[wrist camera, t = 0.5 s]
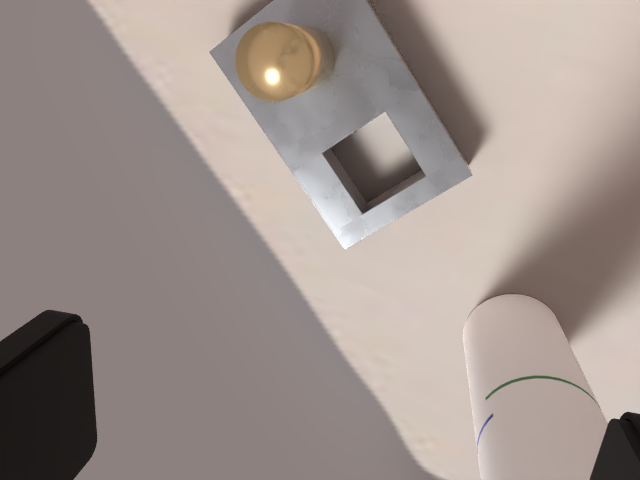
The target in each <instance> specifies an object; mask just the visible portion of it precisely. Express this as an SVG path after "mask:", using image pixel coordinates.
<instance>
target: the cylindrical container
mask: <svg viewBox="0 0 640 480" xmlns="http://www.w3.org/2000/svg"><path fill="white" fill-rule="evenodd" d="M463 344H464V351H465V359H466V367H467V374H468V382H469V390H470V398H471V406H472V413H473V421H474V429H475V437H476V445H477V452H478V460H479V468H480V476H481V480H589V479H590V476H591V473H592V470H593V467H594V464H595V461H596V458H597V455H598V452H599V449H600V446H601V443H602V441H603V438H604V435H605V432H606V429H607V426H608V423H607V421H606V419H605V417H604V415H603V413H602V411H601V409H600V407H599V404H598V402H597V400H596V398H595V396H594V394H593V392H592V390H591V388H590V386H589V384H588V382H587V380H586V378H585V376H584V374H583V372H582V369H581V367H580V365H579V363H578V361H577V359H576V357H575V355H574V353H573V351H572V349H571V347H570V345H569V343H568V341H567V339H566V336H565V334H564V332H563V330H562V328H561V326H560V324H559V322H558V320H557V318H556V316H555V314H554V313H553V312H552V311H551V310H550V309H549V307H547V306H546V305H545V304H543V303H542V302H540V301H538V300H537V299H535V298H532V297H529V296H526V295H519V294H505V295H500V296H496V297H493V298H491V299H488V300H486V301H484V302H483V303H481V304H480V305H478V306H477V307H476V308H475V309H474V310H473V311H472V312H471V314H470V315H469V317H468V318H467V320H466V323H465V325H464V330H463Z"/></svg>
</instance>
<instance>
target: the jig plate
mask: <svg viewBox="0 0 640 480" xmlns="http://www.w3.org/2000/svg"><path fill="white" fill-rule="evenodd" d="M264 22H279V23H285V24H292V25H298V26H304V27H310V28H314V29H316V30H318V31H320V32H321V33H323V34H324V35H325V36H326V37H327V38H328V40H329V41H330V43H331V45H332V47H333V51H334V58H335V60H334V67H333V70H332V73H331V75H330V76H329V78H328V79H327V80H326V82H324V83H323V84H322V85H321V86H319V87H317V88H315V89H312V90H310V91H307V92H304V93H302V94H299V95H297V96H294V97H291V98H289V99H286V100H283V101H279V102H268V101H264V100H261V99H258V98H257V97H255V96H253V95H252V94H251V93H249V92H248V91H247V90H246V88H245V87H244V86H243V84H242V83H241V81H240V79H239V77H238V74H237V71H236V65H235V56H236V50H237V47H238V44H239V42H240V40H241V38H242V37H243V35H244V34H245V33H246V32H247V31H248V30H249V29H251V28H252V27H254V26H255V25H257V24H260V23H264ZM210 54H211V55H212V57H213V58H214V60H215V61H216V63H217V64H218V65H219V67H220V68H221V70H222V71H223V73H224V74H225V76H226V77H227V79H228V80H229V82H230V83H231V84H232V86H233V87H234V89H235V90H236V92H237V93H238V95H239V96H240V98H241V99H242V101H243V102H244V103H245V105H246V106H247V108H248V109H249V111H250V112H251V114H252V115H253V117H254V118H255V120H256V121H257V122H258V124H259V125H260V127H261V128H262V130H263V131H264V133H265V134H266V136H267V137H268V139H269V140H270V141H271V143H272V144H273V146H274V147H275V149H276V150H277V152H278V153H279V155H280V156H281V158H282V159H283V160H284V162H285V163H286V165H287V166H288V168H289V169H290V171H291V172H292V174H293V175H294V177H295V178H296V179H297V181H298V182H299V184H300V185H301V187H302V188H303V190H304V191H305V193H306V194H307V195H308V197H309V198H310V200H311V201H312V203H313V204H314V206H315V207H316V209H317V210H318V212H319V213H320V214H321V216H322V217H323V219H324V220H325V222H326V223H327V225H328V226H329V228H330V229H331V231H332V232H333V233H334V235H335V236H336V238H337V239H338V241H339V242H340V244H341V245H342V247H343V248H344V250H345V249H347V248H348V247H350V246H352V245H353V244H355V243H357V242H359V241H360V240H362V239H364V238H365V237H367V236H369V235H371V234H372V233H374V232H376V231H377V230H379V229H381V228H383V227H384V226H386V225H388V224H390V223H391V222H393V221H395V220H396V219H398V218H400V217H402V216H403V215H405V214H407V213H408V212H410V211H412V210H414V209H415V208H417V207H419V206H420V205H422V204H424V203H426V202H427V201H429V200H431V199H433V198H434V197H436V196H438V195H439V194H441V193H443V192H445V191H446V190H448V189H450V188H451V187H453V186H455V185H457V184H458V183H460V182H462V181H463V180H465V179H467V178H469V177H470V176H472V173H471V170H470V167H469V165H468V163H467V162H466V160H465V158H464V157H463V155H462V153H461V152H460V150H459V149H458V147H457V145H456V144H455V142H454V140H453V139H452V137H451V135H450V134H449V132H448V131H447V129H446V127H445V126H444V124H443V122H442V121H441V119H440V117H439V116H438V114H437V113H436V111H435V109H434V108H433V106H432V104H431V103H430V101H429V99H428V98H427V96H426V95H425V93H424V91H423V90H422V88H421V86H420V85H419V83H418V81H417V80H416V78H415V77H414V75H413V73H412V72H411V70H410V68H409V67H408V65H407V63H406V62H405V60H404V59H403V57H402V55H401V54H400V52H399V50H398V49H397V47H396V45H395V44H394V42H393V41H392V39H391V37H390V36H389V34H388V32H387V31H386V29H385V27H384V26H383V24H382V23H381V21H380V19H379V18H378V16H377V14H376V13H375V11H374V9H373V8H372V6H371V5H370V3H369V1H368V0H273V1H272V2H270V3H269V4H268V5H267V6H265V7H264V8H263V9H262V10H260V11H259V12H258V13H257V14H255V15H254V16H253V17H252V18H251V19H249V20H248V21H247V22H246V23H244V24H243V25H242V26H241V27H239V28H238V29H237V30H236V31H235V32H233V33H232V34H231V35H230V36H228V37H227V38H226V39H225V40H223V41H222V42H221V43H220V44H218V45H217V46H216V47H215V48H214V49H212V50H211V51H210ZM383 112H386V113H387V115H388V116H389V118H390V119H391V121H392V123H393V124H394V126H395V127H396V129H397V131H398V132H399V134H400V135H401V137H402V139H403V140H404V142H405V143H406V145H407V146H408V148H409V150H410V151H411V153H412V154H413V156H414V158H415V159H416V161H417V162H418V164H419V165H420V167H421V169H422V170H420V171H418V172H417V173H415V174H414V175H412V176H410V177H409V178H407V179H405V180H404V181H402V182H400V183H399V184H397V185H395V186H394V187H392V188H390V189H389V190H387V191H385V192H384V193H382V194H381V195H379V196H377V197H376V198H374V199H372V200H371V201H369V202H366V201H365V199H364V198H363V196H362V195H361V193H360V192H359V190H358V189H357V187H356V185H355V184H354V182H353V181H352V179H351V178H350V176H349V175H348V173H347V172H346V170H345V169H344V167H343V166H342V164H341V163H340V161H339V160H338V158H337V157H336V155H335V154H334V152H333V151H332V149H331V147H332V146H334V145H335V144H337V143H338V142H340V141H341V140H343V139H344V138H346V137H347V136H349V135H350V134H352V133H353V132H355V131H356V130H358V129H359V128H361V127H362V126H364V125H365V124H367V123H368V122H370V121H371V120H373V119H374V118H376V117H377V116H379V115H380V114H382V113H383Z"/></svg>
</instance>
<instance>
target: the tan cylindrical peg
mask: <svg viewBox="0 0 640 480" xmlns="http://www.w3.org/2000/svg"><path fill="white" fill-rule="evenodd" d="M334 60H335V58H334V51H333V47H332V45H331V43H330V41H329V40H328V38H327V37H326V36H325V35H324V34H323V33H321V32H320V31H318V30H316V29H314V28H310V27H304V26H298V25H292V24H285V23H279V22H264V23H260V24H257V25H255V26H254V27H252V28H251V29H249V30H248V31H247V32H246V33H245V34H244V35H243V37H242V38H241V40H240V42H239V44H238V47H237V50H236V56H235V65H236V71H237V74H238V77H239V79H240V81H241V83H242V84H243V86H244V87H245V88H246V90H247V91H248V92H249V93H251V94H252V95H253V96H255V97H257V98H258V99H261V100H264V101H268V102H279V101H283V100H286V99H289V98H291V97H294V96H297V95H299V94H302V93H304V92H307V91H310V90H312V89H315V88H317V87H319V86H321V85H322V84H323V83H324V82H326V80H327V79H328V78H329V76H330V75H331V73H332V70H333V67H334Z"/></svg>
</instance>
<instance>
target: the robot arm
mask: <svg viewBox="0 0 640 480" xmlns="http://www.w3.org/2000/svg"><path fill="white" fill-rule="evenodd" d="M93 387H94V386H93V372H92V357H91V343H90V331H89V328H88V326H87V325H86V324H83V321H82V319H81V317H80V316H78V315H76V314H70V313H65V312H60V311H54V310H46V311H44V312H42V313H41V314H39V315H38V316H36V317H35V318H33V319H32V320H31V321H29V322H28V323H26V324H25V325H23V326H22V327H20V328H19V329H18V330H16V331H15V332H13V333H12V334H10V335H9V336H7V337H6V338H5V339H3V340H2V341H0V480H73V479H74V478H75V477H76V476H77V474H78V473H79V472H80V471H81V469H82V468H83V467H84V466H85V465H86V463H87V462H88V461H89V460H90V458H91V457H92V455H93V453H94V451H95V447H96V443H97V429H96V415H95V401H94V388H93ZM589 480H640V414H637V413H631V412H626V413H624V414H623V415H622V416H621V418H620V419H611V420H610V422H609V423H608V426H607V429H606V432H605V435H604V438H603V441H602V443H601V446H600V449H599V452H598V455H597V458H596V461H595V464H594V467H593V470H592V473H591V476H590V479H589Z"/></svg>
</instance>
